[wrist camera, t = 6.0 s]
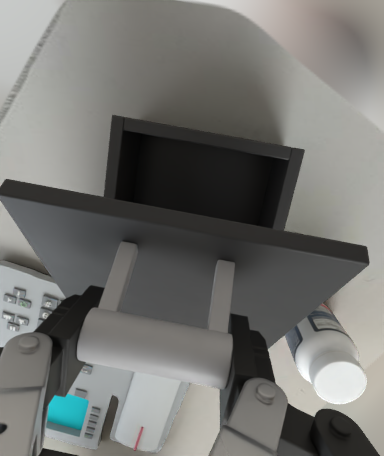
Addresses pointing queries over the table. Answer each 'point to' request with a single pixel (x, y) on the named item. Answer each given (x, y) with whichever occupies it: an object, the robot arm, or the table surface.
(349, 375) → the pill bottle
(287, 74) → the table surface
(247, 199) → the black storage bin
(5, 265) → the office telephone
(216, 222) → the lid
